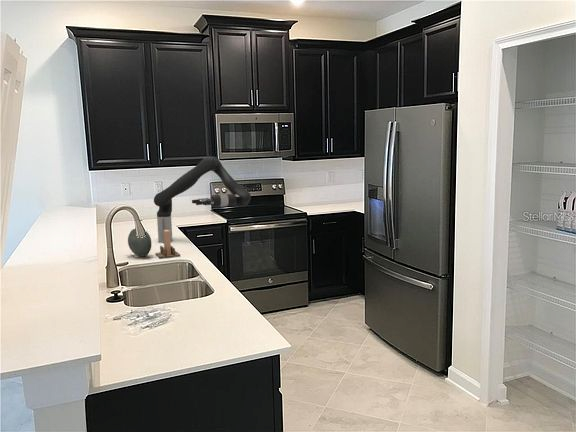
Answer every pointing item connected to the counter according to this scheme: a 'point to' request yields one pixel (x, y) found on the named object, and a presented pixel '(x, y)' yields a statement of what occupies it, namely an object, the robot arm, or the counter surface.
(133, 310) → the counter surface
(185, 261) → the counter surface
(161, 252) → the walnut rack
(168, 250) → the terracotta card
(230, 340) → the counter surface
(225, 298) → the counter surface
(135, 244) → the dark green ellipsoid
